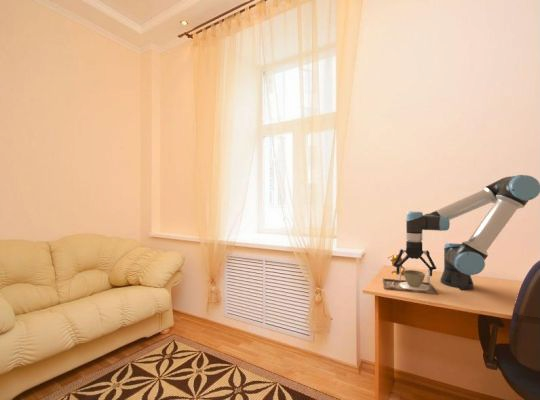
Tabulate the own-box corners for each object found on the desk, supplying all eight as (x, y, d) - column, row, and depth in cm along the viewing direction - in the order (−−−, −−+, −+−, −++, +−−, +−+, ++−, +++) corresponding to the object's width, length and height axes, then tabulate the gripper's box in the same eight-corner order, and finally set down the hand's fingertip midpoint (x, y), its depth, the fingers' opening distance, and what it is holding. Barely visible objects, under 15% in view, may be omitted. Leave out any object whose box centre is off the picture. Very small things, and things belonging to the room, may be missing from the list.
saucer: (426, 284, 151) (426, 283, 151) (431, 293, 138) (431, 291, 138) (398, 282, 156) (398, 280, 156) (400, 290, 143) (400, 288, 143)
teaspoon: (391, 281, 156) (391, 281, 156) (395, 282, 155) (395, 281, 155) (389, 287, 147) (389, 286, 147) (393, 287, 146) (393, 286, 146)
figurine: (387, 271, 180) (387, 253, 180) (405, 272, 178) (405, 253, 178) (390, 275, 172) (390, 255, 172) (409, 276, 170) (409, 256, 170)
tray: (429, 285, 152) (430, 282, 152) (436, 295, 136) (436, 292, 136) (382, 281, 160) (382, 278, 160) (384, 290, 144) (384, 287, 144)
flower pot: (427, 289, 141) (427, 275, 141) (406, 288, 143) (406, 274, 143) (421, 283, 151) (421, 270, 151) (401, 282, 153) (401, 269, 153)
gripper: (439, 241, 146) (439, 281, 146) (388, 238, 154) (387, 276, 155) (443, 243, 139) (442, 285, 139) (389, 240, 147) (388, 280, 148)
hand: (414, 280), depth 147 cm, fingers open, 13 cm apart
